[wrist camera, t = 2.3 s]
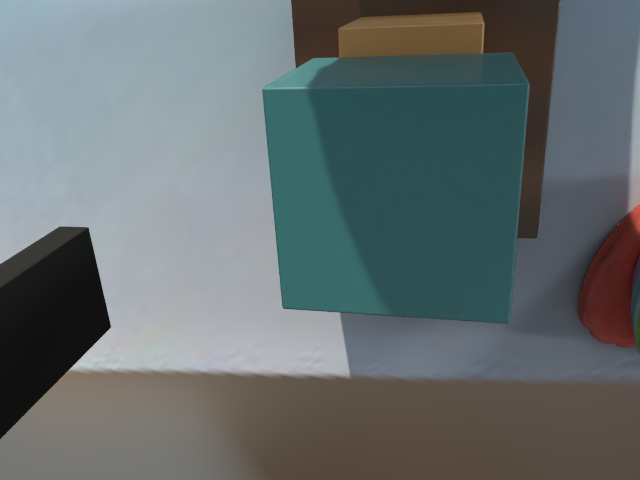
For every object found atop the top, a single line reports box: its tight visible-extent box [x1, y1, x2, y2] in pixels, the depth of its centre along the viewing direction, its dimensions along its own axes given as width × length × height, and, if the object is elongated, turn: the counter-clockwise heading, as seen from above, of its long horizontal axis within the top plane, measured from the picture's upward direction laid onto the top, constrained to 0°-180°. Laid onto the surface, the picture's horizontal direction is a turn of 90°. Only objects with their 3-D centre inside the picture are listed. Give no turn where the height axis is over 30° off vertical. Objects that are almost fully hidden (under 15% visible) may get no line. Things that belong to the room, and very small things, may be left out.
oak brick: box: [338, 12, 484, 57], centre depth 25 cm, size 9×5×5 cm, turn 3°
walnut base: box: [291, 0, 560, 238], centre depth 28 cm, size 11×11×4 cm
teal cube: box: [262, 52, 530, 323], centre depth 20 cm, size 7×7×6 cm
